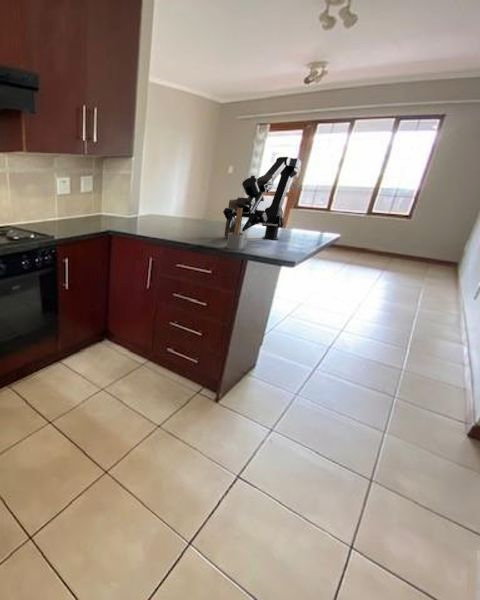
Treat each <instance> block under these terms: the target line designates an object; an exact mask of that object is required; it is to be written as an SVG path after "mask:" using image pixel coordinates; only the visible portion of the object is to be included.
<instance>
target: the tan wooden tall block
mask: <svg viewBox="0 0 480 600" xmlns="http://www.w3.org/2000/svg"><path fill="white" fill-rule="evenodd" d="M236 201H237V198H236V199H235V198H234V199H229V201H228V207H227V208H234V210H235V211H237V209H238V206H237V205H235V204H236ZM236 217H237V216H236ZM235 219H236V218H235ZM242 219H243V217H241V223H240V230H239V233H241V229H242V228H241V227H242V221H243V220H242ZM228 223H229V220H228V219H226V221H225V228H224V233H223V235H224V237H225V238H226V239H228V233H232V232H234V231H235V224H236V222H235V223H234V225H233V226H232V227H231V228H230V229H229V230H228Z"/></svg>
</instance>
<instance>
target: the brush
mask: <svg viewBox="0 0 480 600" xmlns="http://www.w3.org/2000/svg"><path fill="white" fill-rule="evenodd" d="M242 209H243V208H238V209H237V217H236V224H235V231H234V235H239V230H240V231H241V229H240V223H241V224H242V221H241V216H242Z"/></svg>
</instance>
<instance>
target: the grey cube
mask: <svg viewBox="0 0 480 600" xmlns="http://www.w3.org/2000/svg"><path fill="white" fill-rule="evenodd" d="M245 235H246V234H245V233H243V232H240V233H239V235H234V232H232V233H228V238H227V241H226V249H229V250H234V251H235V250H243V249H244V242H245Z"/></svg>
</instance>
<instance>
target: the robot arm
mask: <svg viewBox="0 0 480 600" xmlns="http://www.w3.org/2000/svg"><path fill="white" fill-rule="evenodd" d="M301 167H302V160H301V159H300V158H299V157H295V158H293V157H290V156H279V157H277V158H276V160H275V162H274V163H273V164H272V165H271V167H270V168H269V169H268V170H267V171H266V173H265V174H263V175H260V176H259V177H258V178H257V175H251V176H250V177H248V178H246V179H244V180H243V181H242V183H241V185H242V188H243V190H244V192H245V194H246V196H247V197H237V198H236V199H237V201H236V204H235V205H237V206H238V208H243V209H242V216H241V217H242V218H246V219H247V218H248V219H247V220H246V222H245V224H244V226H243V227H242V228H241V229H242V230H241V231H242V232H245V231H247V230H248V229H250V228H252V227H254V226H255V225H259V224H261V225H262V227H265V232H264V235H263V237H262V239H263V240H274V241H278V240H279V236H278V235H279V231H280V230H279V229H281V228H282V229H283V228H284V226H285V219H284V217H283V216H284V211H283V204H284V201H285V198H286V197H287V193H288V190H289V187H290V184H291V181H292V179H293V178H294V177H295V176H296V175H297V174H298V172H299V170H300V169H301ZM279 175H280V177H279ZM278 177H279V181H278V184H277V187H276V190H275V193H274V195H273V198H272V201H271V204H270V205H269V206H268V207H266V208H264V210H260V209H259V208H258V207H259V205H260V203H261V202H265V197H264V194H268V193H270V192H271V190H272V189H273V187H274V182H275V180H276V179H277V178H278ZM222 213H223V215H224V217H225V219H226V220H227V219H228V220H229V223H228V230H229V229H230V228H231V227H232V226H233V225H234V223H235V222H236V219H235V218H236V216H237V211H235V210H234V208H228V207H225V208H224V209H223V211H222Z"/></svg>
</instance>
